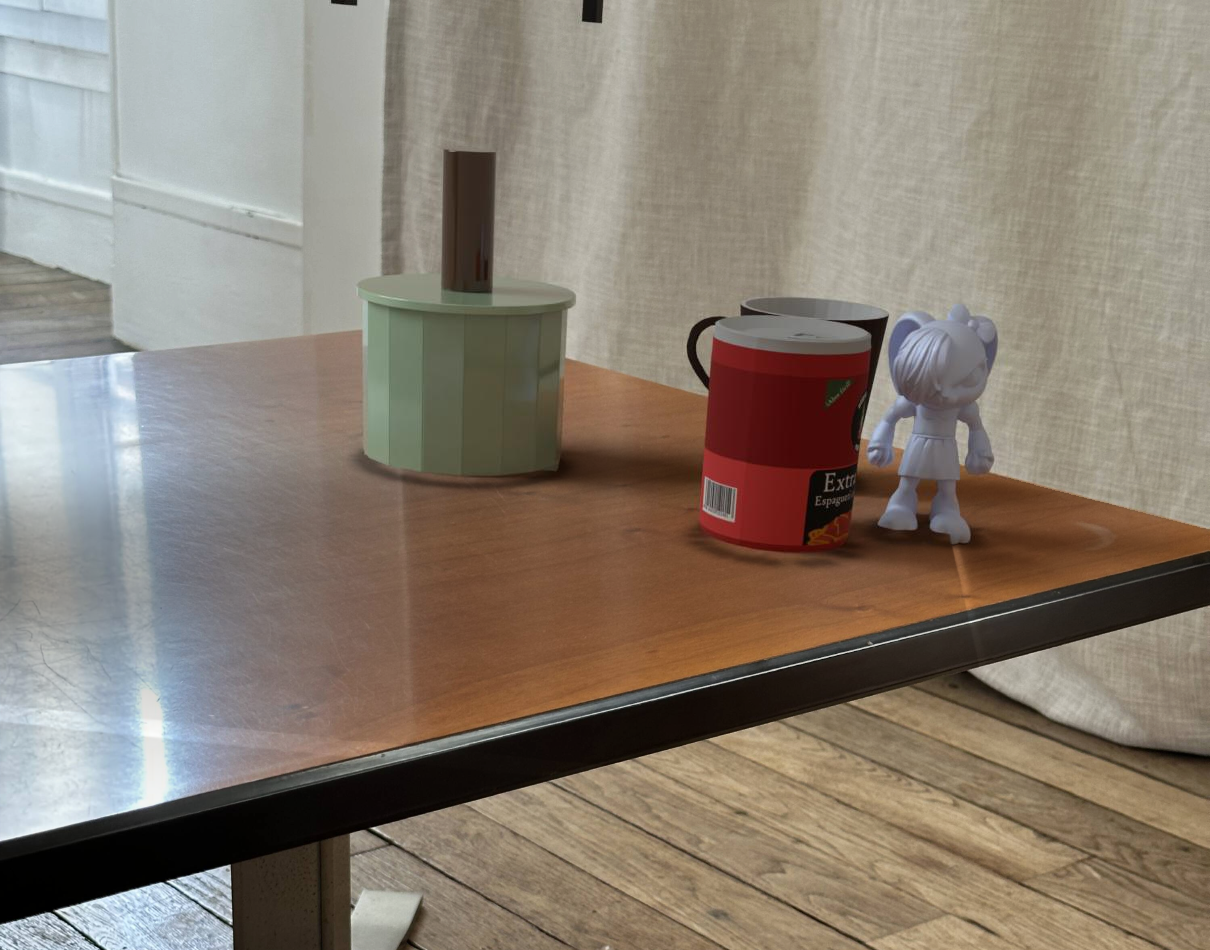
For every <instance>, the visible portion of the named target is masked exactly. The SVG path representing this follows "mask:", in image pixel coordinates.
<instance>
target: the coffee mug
mask: <svg viewBox="0 0 1210 950" xmlns="http://www.w3.org/2000/svg"><path fill="white" fill-rule="evenodd" d="M739 303H740V304H739V305H740V316H751V315H769V316H789V317H802V318H812V319H819V320H827V321H833V322H838V323H843V324H848V325H852V326H856V327H859V328H861V329H864V330H865V331H867V332H869V333H870V334H871V355H870V363H869V376H868V384H867V392H866V400H865V409H864V417H863V425H862V431H863V429H864V426H865V421H866V416H867V411H868V408H869V404H870V399H871V395H872V391H873V386H874V383H875V377H876V373H877V370H878V364H879V360H880V356H881V351H882V348H883V344H884V338H885V335H886V330H887V326H888V322H889V318H890V312H889V311H887V310H886V309H884V308H881V307H878V306H874V305H870V304H866V303H860V302H856V301H855V302H853V301H848V300H847V301H846V300H839V299H830V298H821V297H820V298H819V297H804V296H761V297H752V298H751V297H750V298H746V299H742V300H741V301H740V302H739ZM724 318H728V316H724V315H723V316H722V315H714V316H709V317H706V318H703V319H700V320H699V321H698V322H696V323H695V324H694V325H693V326H692V328H691V329H690V331H689V335H688V338H687V341H686V355H687V360H688V361H689V364H690V366H691V368H692V370H693V371H694V373H695V375H696V376H697V377H698V380H699V381H700V382H701V383H702V385H703V386H704V387H705V389H706V390H707V391H708V392H709V379H710V375H708V374H707V371H706V369H704V367H703V365H702V364H701V362H700V358H699V357H698V354H697V345H698V344H697V343H698V340H699V337H700V335H701V334H702V333H703V332H704V331H705V330H706V329H708V328H709V327H712V326H715V323H716V322H717V321H719V320H721V319H724ZM862 434H863V432H862V433H861V435H862Z"/></svg>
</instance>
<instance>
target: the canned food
mask: <svg viewBox="0 0 1210 950" xmlns="http://www.w3.org/2000/svg"><path fill="white" fill-rule="evenodd" d="M870 355H871V334H870V333H869V332H867V331H865V330H864V329H861V328H859V327H856V326H852V325H848V324H843V323H838V322H833V321H827V320H819V319H812V318H802V317H789V316H769V315H751V316H741V315H736V316H730V317H728V316H727V318H724V319H721V320H719V321H717V322H716V323H715V325H714V331H713V334H712V345H711V355H710V368H709V378H710V379H709V391H708V392H707V393H708V395H707V406H706V407H707V408H706V422H705V432H704V434H705V435H704V447H703V460H702V461H703V462H702V475H701V489H700V500H699V513H698V514H699V515H698V522H699V526H700V529H701V530H702V532H703V533H705V534H706V535H707V536H708V537H711V538H713V539H716V540H717V541H721V542H723V543H727V544H730V545H734V546H738V547H743V548H748V549H752V550H753V549H754V550H760V551H768V552H781V553H811V552H812V553H813V552H823V551H827V550H832V549H836V548H839V547H841V546H842V545H844V544H845V543H846V541H847V539H848V537H849V535H850V531H851V523H852V516H853V508H854V498H855V490H856V484H857V483H856V481H857V474H858V473H857V472H858V467H859V466H858V465H859V457H860V448H861V441H862V440H861V439H862V434H863V430H862V425H863V417H864V409H865V400H866V392H867V384H868V376H869V363H870ZM863 426H864V425H863ZM861 433H862V434H861Z"/></svg>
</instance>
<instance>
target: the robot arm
mask: <svg viewBox="0 0 1210 950" xmlns="http://www.w3.org/2000/svg"><path fill="white" fill-rule="evenodd" d="M330 4H331V5H342V6H351V7H352V6H355V7H357V6H358V0H330ZM581 8H582V9H581V22H582V23H591V24H603V16H604V0H582V7H581Z"/></svg>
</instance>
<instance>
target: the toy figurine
mask: <svg viewBox="0 0 1210 950" xmlns="http://www.w3.org/2000/svg"><path fill="white" fill-rule="evenodd" d="M887 343H888V344H887V361H888V369H889V375H890V378H891V383H892V385H893V388H894V390H895V392H896V394H897V397H896V398H895V400H894V402H893V406H891V407H889V409H888V410H887V411H886V413H885V414H884V416H883V417H882V418H881V419H880V421H879V422H878V423H877V425H876V426H875V428H874V429H873V432H872V433H871V435H870V438H869V440H868V444H867V446H866V449H865V454H866V455H865V456H866V458H867V462H868V463H869V465H871V466H876V467H877V468H887V467H888V466H890V465H891V464H892V463H894V461H895V458H896V454H895V453H896V452H895V450H894V448H893V444H894V443H893V442H894V440H895V433H896V425H897V423H898V422H899V421H900V420H901V419H908V418H912V417H913V425H912V430H911V434H910V435H909V438H908V440H907V442H906V445H905V448H904V450H903V454H902V458H901V460H900V464H899V467H898V471H897V475H898V476H899V477H900V476H901V477H900V480H899V484H898V487H897V489H896V490H895V491H894V493H893V494H892V495H891V497H890V498H889V501H888V503H887V505H886V509H885V511H884V513H883V514H882V515H881V517H880V518H879V520H878V521H877V525H878V526H879V527H882V528H884V529H885V528H886V529H890V530H894V531H915V530H917V529H918V520H917V512H918V505H919V504H918V501H919V499H918V494H917V492H916V490H917V487H918V485H919V484H920V482H921V480H931V481H936V485H937V489H938V491H937V493H935V495H934V497H933V499H932V501H931V505H930V509H929V510H930V511H929V517H928V521H929V522H930V523H929V528H930V530H931V531H932V532H935V533H940V534H947V535H949V539H950V544H951V545H957V544H968V543H969V542H970V540H971V529H970V527H969V525H968V523H967V521H966V520H965V519H964V518H963V517H962V516H961V511H960V505H959V501H958V498H957V495H956V494H957V493H956V487H957V481H960V479H961V465H960V457H959V447H958V442H957V439H956V435H957V434H956V433H957V425H958V421H959V422H961V423H964V424H966V425H967V428H968V439H967V453H966V456H965V458H964V469H965V470H966V472H967V473H968V474H969V475H974V476H980V475H987V474H989V473H990V471H991V470H992V467H993V466H994V462H995V455H994V453H993V451H992V444H991V441H990V438H989V436H988V433H987V431H986V429H985V427H984V424H983V422H982V417H981V415H980V406H979V403H978V402H977V400H978V399H979V398H980V397H981V396H982V395H983V393H985V390H986V387H987V384H988V380H989V376H990V375H991V372H992V369H993V367H994V364H995V361H996V357H997V353H998V348H999V335H998V329H997V326H996V324H995V323H994V322H993V319H991V318H989V317H987V316H985V315H981V314H980V315H979V314H978V315H976V314H975V315H972V314H971V313H970V310H969V309H968V308H967V306H966V305H965V304H964V303H955V304H954V305H953V306H952V307H951V308H950V310H948V312H947V314H946V319H935V317H934V316H933V315H931V314H930V313H927V312H926V311H922V310H910V311H907V312H905V313H903V314H902V315H901V316H900V317H899V318H898V319H897V320H896V322H895V323H894V325H893V327H892V329H891V332H890V336H889V338H888V342H887Z"/></svg>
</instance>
